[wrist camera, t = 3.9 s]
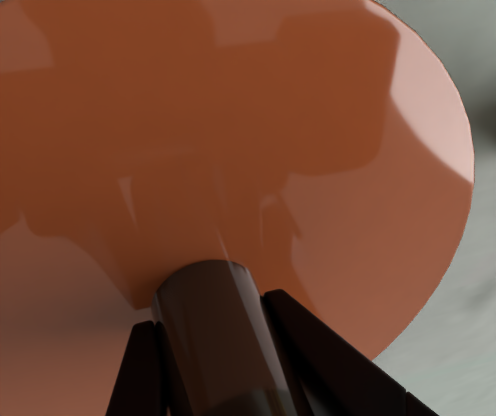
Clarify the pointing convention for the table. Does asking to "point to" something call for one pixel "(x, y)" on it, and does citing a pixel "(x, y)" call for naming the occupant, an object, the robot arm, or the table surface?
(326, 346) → the robot arm
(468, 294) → the table surface
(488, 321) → the table surface
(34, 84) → the pot lid
